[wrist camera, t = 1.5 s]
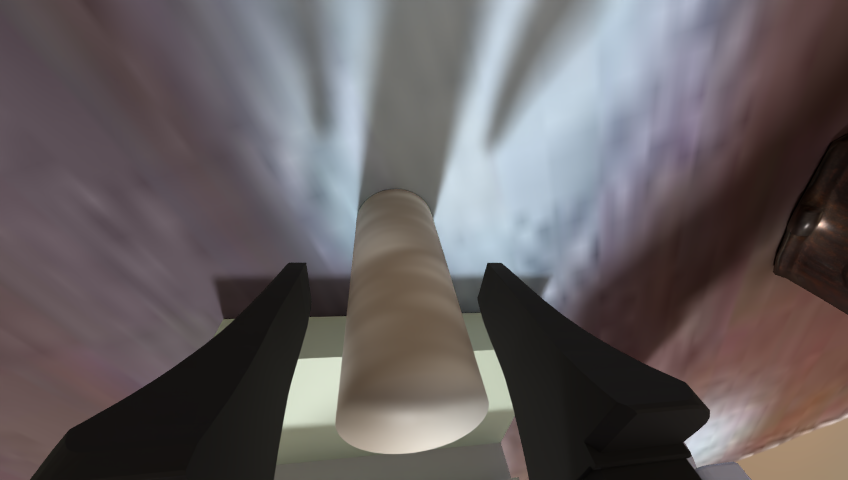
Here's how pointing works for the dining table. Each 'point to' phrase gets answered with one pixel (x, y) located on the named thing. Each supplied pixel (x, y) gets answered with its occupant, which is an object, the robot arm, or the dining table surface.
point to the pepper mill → (820, 232)
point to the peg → (404, 336)
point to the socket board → (375, 472)
